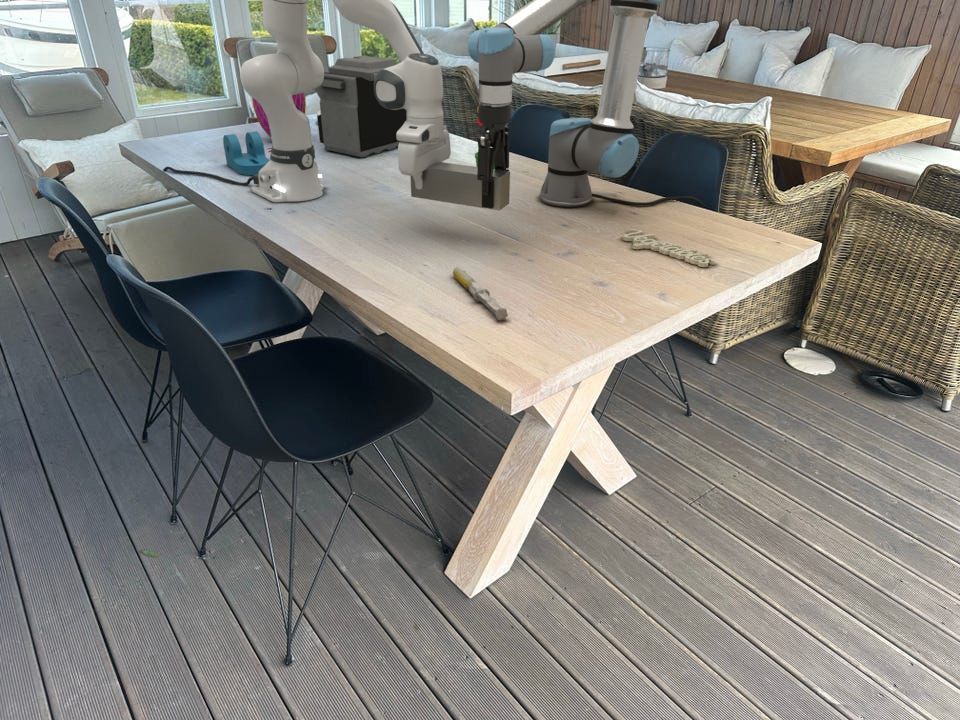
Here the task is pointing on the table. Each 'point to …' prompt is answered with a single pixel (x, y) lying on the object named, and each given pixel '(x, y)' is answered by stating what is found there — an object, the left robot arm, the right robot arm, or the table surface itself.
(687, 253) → the decorative sign
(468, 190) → the bar
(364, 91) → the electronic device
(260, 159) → the camera mount
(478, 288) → the syringe
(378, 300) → the table surface
